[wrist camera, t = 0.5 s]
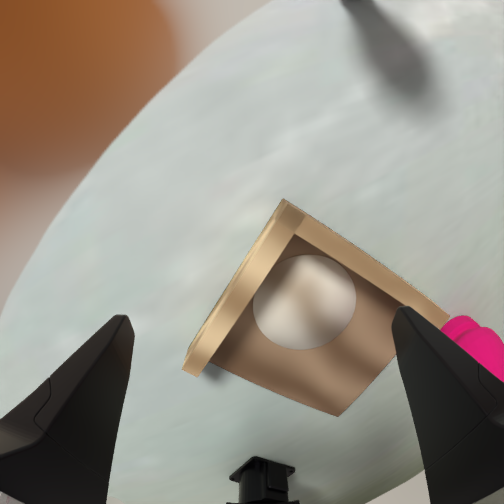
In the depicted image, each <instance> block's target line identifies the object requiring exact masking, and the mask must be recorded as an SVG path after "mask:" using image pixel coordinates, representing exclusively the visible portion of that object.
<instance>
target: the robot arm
mask: <svg viewBox="0 0 504 504" xmlns="http://www.w3.org/2000/svg"><path fill="white" fill-rule="evenodd" d="M391 330H392V335H393V340H394V345H395V350H396V355H397V360H398V365H399V369H400V373H401V377H402V380H403V383H404V387H405V390H406V394H407V398H408V401H409V405H410V409H411V413H412V416H413V420H414V424H415V428H416V433H417V437H418V441H419V445H420V450H421V455H422V459H423V464H424V469H425V474H426V480H427V485H428V491H429V497H430V503H431V504H504V382H503V381H501V380H500V379H499V378H497V377H496V376H495V375H494V374H492V373H491V372H490V371H489V370H487V369H486V368H485V367H484V366H483V365H482V364H480V363H478V361H477V360H476V359H474V358H473V357H472V356H471V355H470V354H468V353H467V352H466V351H465V350H464V349H463V348H461V347H460V346H459V345H458V344H456V343H455V342H454V341H453V340H452V339H450V338H449V337H448V336H447V335H445V334H444V333H443V332H442V331H441V330H439V329H438V328H437V327H436V326H434V325H433V324H432V323H431V322H429V321H428V320H427V319H426V318H424V317H423V316H422V315H421V314H419V313H418V312H417V311H415V310H414V309H413V308H412V307H410V306H400V307H398V308H397V310H396V313H395V316H394V318H393V321H392V325H391ZM134 338H135V335H134V330H133V328H132V325H131V323H130V320H129V318H128V316H127V315H115V316H113V317H112V318H111V319H110V320H109V321H108V322H107V323H106V324H105V325H104V326H102V327H101V328H100V329H99V330H98V331H97V332H96V333H95V334H94V335H93V336H92V337H91V338H89V339H88V340H87V341H86V342H85V343H84V344H83V345H82V346H81V347H80V348H79V349H78V350H77V351H76V352H75V353H73V354H72V355H71V356H70V357H69V358H68V359H67V360H66V361H65V362H64V363H63V364H62V365H61V366H60V367H59V368H58V369H57V370H56V371H55V372H54V373H53V374H52V375H50V378H47V379H46V380H45V381H44V382H43V383H42V384H41V385H40V386H39V387H38V388H37V389H36V390H35V391H34V392H33V393H31V394H30V395H29V396H28V397H27V398H26V399H24V400H23V401H22V402H21V403H20V404H18V405H17V406H16V407H15V408H14V409H12V410H11V411H10V412H9V413H8V414H6V415H5V416H4V417H3V418H1V419H0V504H106V500H107V493H108V486H109V483H108V482H109V478H110V472H111V466H112V460H113V454H114V448H115V443H116V438H117V432H118V427H119V422H120V417H121V413H122V408H123V403H124V399H125V394H126V390H127V386H128V381H129V376H130V369H131V361H132V353H133V346H134ZM294 472H295V468H293V467H290V466H286V465H283V464H279V463H276V462H272V461H269V460H266V459H263V458H259V457H256V456H255V457H252V458H250V459H249V460H248V461H247V462H246V463H245V464H243V465H242V466H241V467H240V468H239V469H238V470H236V471H235V472H234V473H233V474H232V475H230V477H229V479H230V480H231V481H234V482H238V483H239V503H230V502H227V503H226V504H300V503H299V500H296V501H292V502H289V500H288V491H289V488H288V477H289V476H290V475H291V474H293V473H294Z"/></svg>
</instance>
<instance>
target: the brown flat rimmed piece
mask: <svg viewBox="0 0 504 504" xmlns="http://www.w3.org/2000/svg"><path fill="white" fill-rule="evenodd" d="M400 306H410V307H412V308H413V309H414V310H415V311H417V312H418V313H419V314H421V315H422V316H423V317H424V318H426V319H427V320H428V321H429V322H431V323H432V324H433V325H435V326H436V327H437V328H439V329H441V328H442V327H443V325H444V324H445V323H446V321H447V320H448V318H449V317H450V316H449V315H448V314H447V313H446V312H445V311H444V310H442V309H441V308H440V307H439V306H438V305H437V304H435V303H434V302H433V301H432V300H431V299H429V298H428V297H427V296H425V295H424V294H423V293H421V292H420V291H418V290H417V289H416V288H414V287H413V286H412V285H410V284H409V283H408V282H406V281H405V280H403V279H402V278H401V277H399V276H398V275H397V274H395V273H394V272H392V271H391V270H390V269H388V268H387V267H385V266H384V265H383V264H381V263H380V262H378V261H377V260H375V259H374V258H373V257H371V256H370V255H368V254H367V253H365V252H364V251H362V250H361V249H360V248H358V247H357V246H355V245H354V244H352V243H351V242H349V241H348V240H346V239H345V238H343V237H342V236H340V235H339V234H337V233H336V232H334V231H333V230H331V229H330V228H328V227H327V226H325V225H324V224H322V223H321V222H319V221H318V220H316V219H315V218H313V217H312V216H310V215H308V214H307V213H305V212H304V211H302V210H301V209H299V208H297V207H296V206H294V205H293V204H291V203H290V202H288V201H286V200H285V199H282V201H281V202H280V204H279V205H278V207H277V208H276V210H275V212H274V213H273V215H272V216H271V218H270V219H269V221H268V223H267V224H266V226H265V227H264V229H263V231H262V232H261V234H260V235H259V237H258V238H257V240H256V242H255V243H254V245H253V246H252V248H251V250H250V251H249V253H248V254H247V256H246V257H245V259H244V261H243V262H242V264H241V265H240V267H239V269H238V270H237V272H236V273H235V275H234V276H233V278H232V280H231V281H230V283H229V284H228V286H227V288H226V289H225V291H224V292H223V294H222V295H221V297H220V299H219V300H218V302H217V303H216V305H215V307H214V308H213V310H212V311H211V313H210V314H209V316H208V318H207V319H206V321H205V322H204V324H203V326H202V327H201V329H200V330H199V332H198V334H197V335H196V337H195V338H194V340H193V342H192V343H191V345H190V346H189V348H188V351H187V354H186V357H185V361H184V364H183V367H182V370H184V371H186V372H188V373H190V374H192V375H194V376H196V377H198V376H199V374H200V373H201V371H202V370H203V368H204V367H205V366H206V364H207V363H208V361H209V362H211V363H213V364H215V365H217V366H219V367H221V368H223V369H225V370H227V371H229V372H231V373H233V374H236V375H238V376H240V377H242V378H244V379H246V380H248V381H251V382H253V383H255V384H257V385H260V386H262V387H264V388H266V389H269V390H271V391H273V392H276V393H278V394H280V395H283V396H285V397H287V398H290V399H292V400H295V401H297V402H300V403H302V404H305V405H307V406H310V407H313V408H315V409H318V410H320V411H323V412H326V413H328V414H331V415H334V416H337V417H338V416H339V415H340V414H341V413H342V412H343V411H344V410H345V409H346V408H347V407H348V406H349V405H350V404H351V403H352V402H353V401H354V400H355V399H356V398H357V397H358V396H359V395H360V394H361V393H362V392H363V391H364V390H365V389H366V388H367V387H368V385H369V384H370V383H371V382H372V381H373V380H374V379H375V378H376V377H377V375H378V374H379V373H380V372H381V371H382V370H383V369H384V368H385V366H386V365H387V364H388V363H389V362H390V361H391V359H392V358H393V357H394V356H395V355H396V350H395V345H394V340H393V335H392V330H391V325H392V321H393V318H394V316H395V313H396V310H397V308H398V307H400Z"/></svg>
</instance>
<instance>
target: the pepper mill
mask: <svg viewBox="0 0 504 504" xmlns="http://www.w3.org/2000/svg"><path fill="white" fill-rule="evenodd" d="M440 330H441V331H442V332H443V333H444V334H445V335H447V336H448V337H449V338H450V339H452V340H453V341H454V342H455V343H456V344H458V345H459V346H460V347H461V348H463V349H464V350H465V351H466V352H467V353H468V354H470V355H471V356H472V357H473V358H474V359H476V360H477V361H478V363H480V364H482V365H483V366H484V367H485V368H486V369H487V370H489V371H490V372H491V373H492V374H494V375H495V376H496V377H497V378H499V379H500V380H501V381H503V382H504V344H503V342H502V340H501V339H500V337H499V336H498V335H497V334H496V333H495V332H494V331H493V330H492V329H490V328H487V327H480V326H479V324H478V323H476V322H475V321H474V320H473V319H471V318H470V317H468V316H457V317H455V318H453V319H451V320H450V321H448V322H447V323H446V324H445V325H444V326H443V327H442V328H441V329H440Z"/></svg>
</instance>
